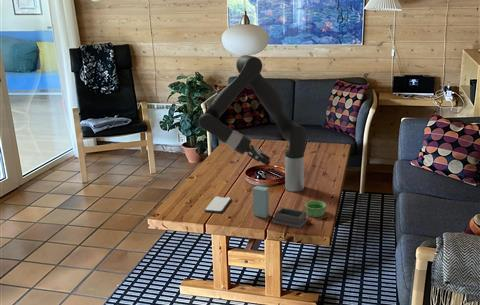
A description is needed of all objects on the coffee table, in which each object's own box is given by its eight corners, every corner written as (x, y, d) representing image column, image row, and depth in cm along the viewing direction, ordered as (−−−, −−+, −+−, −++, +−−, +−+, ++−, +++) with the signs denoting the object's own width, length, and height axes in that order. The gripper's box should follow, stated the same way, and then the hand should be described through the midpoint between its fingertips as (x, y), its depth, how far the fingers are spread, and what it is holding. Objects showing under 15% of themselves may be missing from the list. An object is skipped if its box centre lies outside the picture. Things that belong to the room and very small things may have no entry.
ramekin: (301, 214, 231) (301, 205, 230) (312, 207, 237) (312, 198, 236) (318, 219, 225) (318, 210, 224) (329, 212, 232) (329, 203, 230)
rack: (280, 214, 231) (280, 206, 230) (308, 219, 225) (308, 211, 224) (272, 222, 224) (272, 213, 223) (300, 228, 218) (300, 219, 217)
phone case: (222, 214, 234) (232, 200, 249) (221, 211, 234) (232, 197, 248) (203, 213, 237) (215, 198, 251) (203, 209, 236) (214, 195, 251)
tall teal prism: (257, 212, 234) (256, 185, 230) (269, 214, 231) (268, 187, 227) (253, 215, 231) (252, 188, 227) (265, 218, 228) (265, 190, 224)
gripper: (241, 137, 220) (274, 158, 221) (243, 132, 234) (273, 151, 235) (232, 152, 221) (264, 172, 222) (234, 146, 235) (264, 165, 236)
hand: (269, 161), depth 229 cm, fingers open, 8 cm apart
